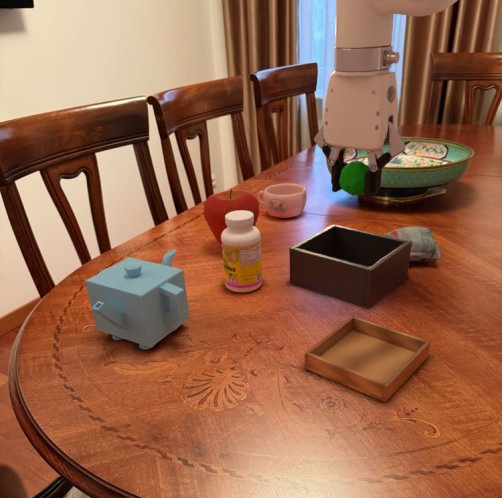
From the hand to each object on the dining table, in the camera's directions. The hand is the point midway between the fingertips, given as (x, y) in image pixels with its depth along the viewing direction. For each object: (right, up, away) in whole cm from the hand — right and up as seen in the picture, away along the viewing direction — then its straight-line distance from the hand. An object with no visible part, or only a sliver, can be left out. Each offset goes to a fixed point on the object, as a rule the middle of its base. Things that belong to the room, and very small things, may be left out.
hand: (354, 191), depth 81 cm
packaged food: (+14, -8, +18) cm, 24 cm away
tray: (-1, -26, -11) cm, 28 cm away
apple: (-20, -4, +26) cm, 33 cm away
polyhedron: (0, -1, 0) cm, 1 cm away
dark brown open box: (+1, -13, +10) cm, 16 cm away
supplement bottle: (-17, -14, +11) cm, 25 cm away
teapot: (-32, -22, 0) cm, 39 cm away
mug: (-9, +6, +41) cm, 43 cm away
